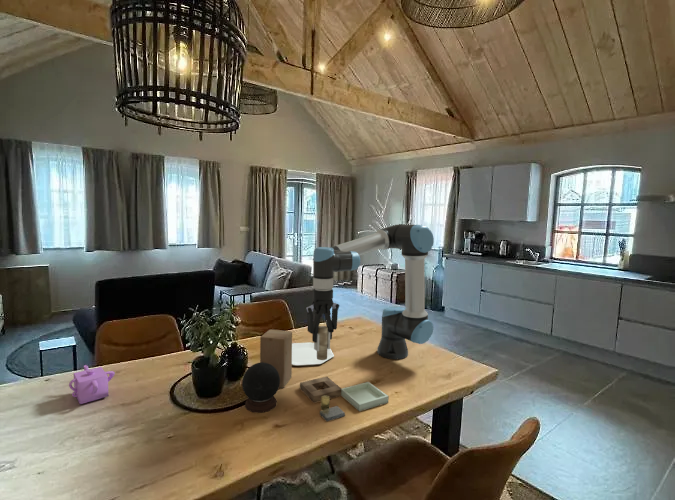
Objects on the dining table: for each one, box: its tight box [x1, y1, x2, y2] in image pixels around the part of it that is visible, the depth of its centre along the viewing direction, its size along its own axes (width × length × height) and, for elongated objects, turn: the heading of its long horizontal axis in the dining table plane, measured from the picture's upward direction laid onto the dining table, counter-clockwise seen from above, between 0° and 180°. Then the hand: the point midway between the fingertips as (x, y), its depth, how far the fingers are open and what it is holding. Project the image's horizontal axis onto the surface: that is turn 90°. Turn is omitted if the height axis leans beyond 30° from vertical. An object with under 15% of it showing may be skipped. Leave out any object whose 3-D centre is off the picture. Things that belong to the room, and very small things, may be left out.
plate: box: [292, 341, 335, 367], centre depth 174 cm, size 28×28×2 cm
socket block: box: [299, 376, 342, 404], centre depth 139 cm, size 12×12×2 cm
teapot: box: [68, 364, 115, 405], centre depth 131 cm, size 18×14×10 cm
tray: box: [340, 381, 390, 412], centre depth 134 cm, size 13×13×2 cm
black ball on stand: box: [241, 362, 280, 414], centre depth 128 cm, size 13×13×15 cm
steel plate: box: [319, 405, 346, 422], centre depth 123 cm, size 7×5×1 cm
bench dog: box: [320, 395, 331, 410], centre depth 127 cm, size 3×3×4 cm
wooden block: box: [259, 329, 293, 389], centre depth 145 cm, size 10×10×20 cm
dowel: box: [317, 325, 328, 360], centre depth 137 cm, size 4×4×12 cm
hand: (322, 348), depth 137 cm, fingers closed on dowel, 4 cm apart
